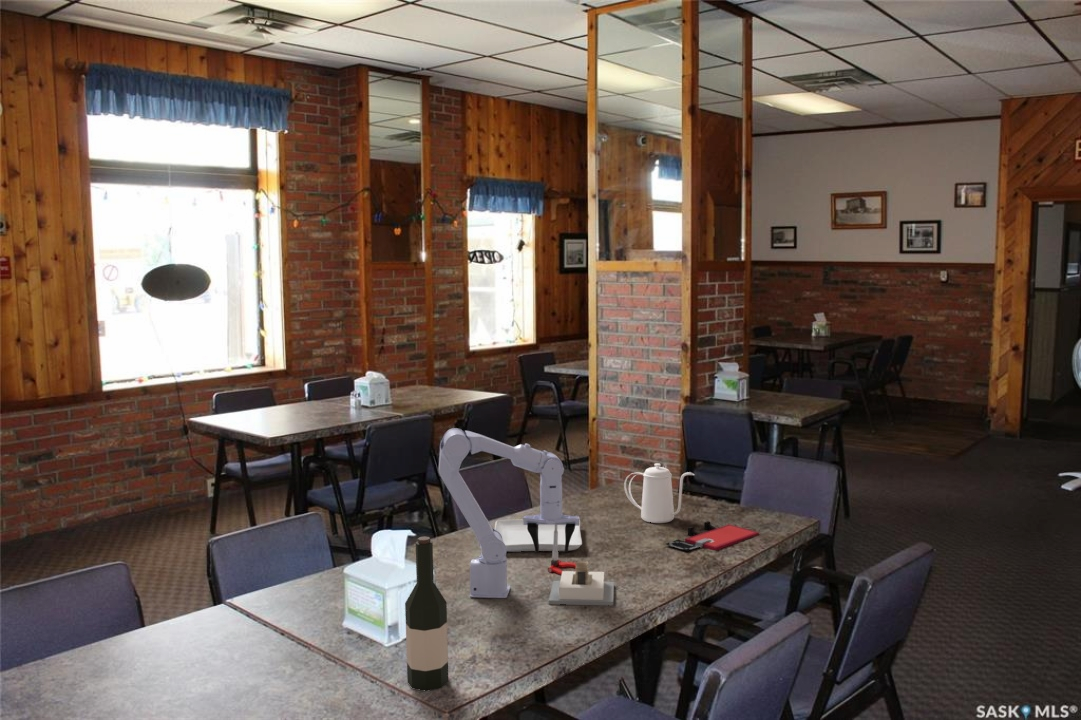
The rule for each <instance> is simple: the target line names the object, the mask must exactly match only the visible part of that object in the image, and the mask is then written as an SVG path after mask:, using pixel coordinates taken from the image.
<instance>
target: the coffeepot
mask: <svg viewBox="0 0 1081 720" xmlns="http://www.w3.org/2000/svg"><path fill="white" fill-rule="evenodd" d="M653 465H654V466H650V467H648V468H646V469H645V471H644V472H640V471H637V472H632V473H630V474H628V475H627V476H626V477H625V480H624V481H623V482H624V483H623V489H624V492H625V495H626V497H627V499H628V501H629V502H630V503H631V504H632V505H633V506H634V507H636V508H637V509H639V510H641V511H640V517H641V519H642V520H643V521H644V522H647V523H650V522H651V523H652V524H665V523H670V522H672V521H673V520H674V518H675V515H677V514H679V513H680V510H681V508H682V507H681V506H682V497H683V494H682V493H683V485H684V484H683V483H684V482H683V481H684V477H686V476H695V473H693V472H691V471H689V472H688V471H687V472H684V473H683V474H681V476H680V479H679V488H678V489H679V491H678V504H677V509H676V510H675V509H674V497H673V496H674V495H673V483H672V481H673V480H672V477H673V474H672V473H671V471H670V469H668V468H667V467H663V466H661V463H657V462H656V463H654V464H653ZM631 475H633V476H632V477H631V478H630V480H629V482H628V483H629V484H628V490H627V480H628V479H629V477H630V476H631ZM638 475H640V476H643V481H642V482H643V483H642V496H641V497H642V498H641V505H639V504H638V503H637V501H636V500H635V499H634V498H633V495H632V491H631V490H632V489H631V486H632V481H633V479H634V478H635V477H636V476H638ZM674 510H675V511H674ZM651 523H650V524H651Z"/></svg>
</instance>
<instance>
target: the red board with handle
mask: <svg viewBox="0 0 1081 720" xmlns="http://www.w3.org/2000/svg"><path fill="white" fill-rule="evenodd" d="M703 525H704V527H703V529H704V531H705V532H702V533H701V532H700V533H699V532H698V531H696V530H695V527H694V526H691V525H690V526H688V527H687V536H689V537H687V538H685V539H684V540H681V539H676V540H673V541H670V542H667V543H665V546H666V545H667V546H670V547H674V548H676V549H680V550H683V551H691V550H694V549H696V548H699V547H700V549H701V548H704V547H705V548H704V549H708V550H712V551H719V550H721V549H724V548H727V547H729V546H731V545H732V546H733V545H735V544H737V543H740V542H742V541H745V540H749V539H750V538H753V537H756V536H758V535H760V532H759V531H755V530H751V529H749V528H748V529H747V528H743V527H740V526H735V525H733V524H726V525H724V526H723V525H722V526H720V527H717V528H716V526H713V525H712V524H711V521H710V520H709V521H704V524H703ZM691 535H692V536H691Z"/></svg>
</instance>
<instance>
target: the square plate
mask: <svg viewBox="0 0 1081 720" xmlns="http://www.w3.org/2000/svg"><path fill="white" fill-rule="evenodd" d="M494 523H495V524H494V527H493V528H494V529H495V530H497V531H498V532H499V533H500V534H501V536H502V539H503V542H504V544H505V545H506V549H507V552H509V553H522V552H521V551H535V546H534V543H533V540H532V538H531V536H530V534H529V532H528V529H527V527H528V525H523V518H521V519H520V518H519V519H518V518H517V519H516V518H515V519H498V520H496V521H495V522H494ZM565 526H566V525H557V531H558V548H557V551H559V552H565ZM554 531H555V525H544V524H538V541H539V551H553V540H554ZM582 545H583V540H582V534H581V523H580V524H579V526H575V530H574V532H573V534H572V536H571V539H570V542H569V547H568V552H569V551H575V550H577V549H579V548H580V547H581V546H582ZM507 552H506V553H507Z"/></svg>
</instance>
